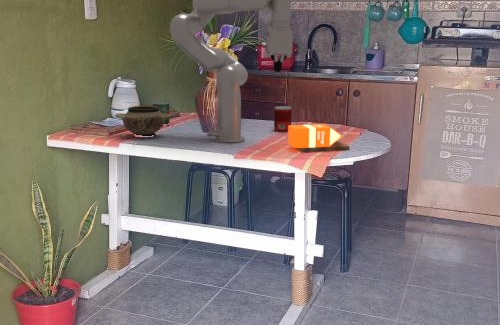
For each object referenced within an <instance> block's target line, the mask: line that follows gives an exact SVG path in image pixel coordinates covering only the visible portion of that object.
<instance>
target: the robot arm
mask: <svg viewBox="0 0 500 325" xmlns="http://www.w3.org/2000/svg"><path fill="white" fill-rule="evenodd" d="M192 8H193V10H192V11H191V13H179V14H177V15H175V16H174V17H173V18H172V20H171V22H170V25H169V30H170V35H171V38H172V40H173V42H174V43H175V45H176V46H177V48H179V49H180V50H181V51H183V52H184V53H185V54H186V55H187V56H188V57H190V58H191V60H193V61H194V62H195V63H197V64H198V65H199V66H200V67H202V69H204V71H206V72H210V73H212V72H216V74H217V75H216V87H217V104H218V105H217V106H218V107H217V113H218V114H217V115H218V116H217V119H218V122H217V124H218V127H217V128H216V130H214V131H207V132H206V136H207V137H214V141H215V142H219V143H226V144H228V143H229V144H231V143H232V144H233V143H241V142H244V141H245V136H243V135H241V134H242V132H241V128H242V98H241V97H242V95H241V88H240V86H243V85H244V84H245V83H246V82H247V80H248V75H249V74H248V70H247V68H246V67H245V66H244V65H243V64H242V63H241V62H239V61H238V59H236V58H234V57H233V56H232V55H231V54H229V53H228V52H227V51H226V50H224V49H222V48H217V47H214V48H212V47H211V46H209V45H208V44H207V43H206V42H204V40H202V39H201V38H199V37H198V36H196V34H198V33H200V32H201V31H202V30H203V29H204V28H205V27H206V26H207V25H208V23H210V21H211V20H212V19H213V18H214V17H215V16H216V15H229V14H230V15H231V14H234V13H237V12H238V13H239V12H253V11H254V12H257V11H258V12H271V17H270V18H271V19H270V20H269V21H267V25H268V26H270V27H269V28H268V31H267V37H266V43H265V54H264V56H265V57H268V58H271V60H272V61H273V71H274V72H275V73H281V70H282V69H283V62H284V61H285V60H286V59H289V58H292V57H293V56H292V54H293V45H294V44H293V30H292V29H290V28H291V13H292V0H192ZM278 55H279V57H278Z"/></svg>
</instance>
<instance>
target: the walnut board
mask: <svg viewBox="0 0 500 325" xmlns="http://www.w3.org/2000/svg"><path fill="white" fill-rule="evenodd" d="M294 149H296V150H297V151H299V152H301V153H313V152H315V153H317V151H318V152H336V151H350V145H347V144H346V143H343V142H341V141H339V140H337V141H336V142H335V143H333V144H332V145H331V146H329V147H310V148H309V147H308V148H294Z"/></svg>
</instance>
